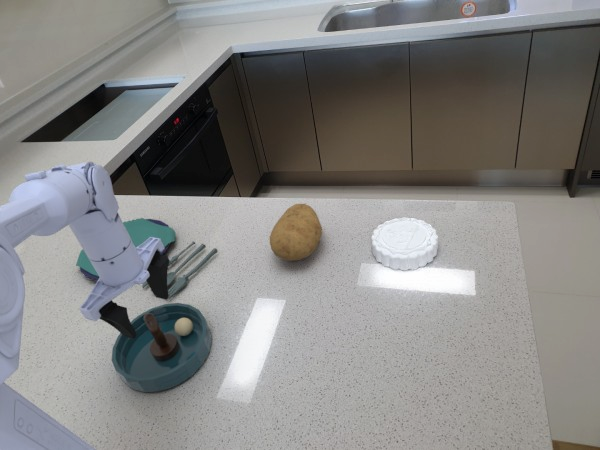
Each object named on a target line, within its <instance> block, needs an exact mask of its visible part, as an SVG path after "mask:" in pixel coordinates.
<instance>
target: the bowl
mask: <svg viewBox="0 0 600 450" xmlns="http://www.w3.org/2000/svg"><path fill="white" fill-rule="evenodd" d="M146 313H152V314H153V315H154V316H155V318H156V320H157V322H158V324H159V326H160V328H161V330H162V332H163V334H172V335H174V336H175V337H176V339H177V341H178V343H179V351H178V352H177V354H176V355H175V356H174V357H173V358H171V359H169V360H167V361H157V360H155V359H154V357H153V355H152V354H151V352H150V346H151V344H152V342H153V341H154V338H153V336H152V334H151V332H150V330H149V329H148V327H147V325H146V323H145V321H144V315H145V314H146ZM180 318H188V319H190V320H191V321H192V323H193V329H192V331H191V333H190V334H189V335H186V336H180V335H178V334H177V333H176V331H175V328H174V327H175V323H176V322H177V320H179V319H180ZM130 323H131V324H132V326H133V328H134V329H135V331H136V334H137V336H136V337H135V338H134V339H131V338H128V337H125V336H123V335H122V334H121V333H120V332H119V334H118V336H117V337H116V339H115V342H114V343H113V346H112V351H111V362H112V365H113V368H114V370H115V371H116V373H117V375H118V376H119V378H120V379H121V380H122V382H123V383H125V385H127V386H128V387H129V388H130V389H132V390H135V391H139V392H141V393H142V392H144V393H153V392H162V391H165V390H168V389H172V388H174V387H176V386H178V385H180V384H182V383H184V382H185V381H186V380H189V378H190V377H192V376H193V375H194V374H195V373H196V372H197V371H198V370H199V369H200V368H201V367H202V366H203V364H204V362H205V361H206V359H207V358H208V355H209V354H210V350H211V346H212V340H213V339H212V333H211V329H210V326H209V324H208V322H207V319H206V318H205V316H204V315H203V313H202V312H201V310H200V309H199V308H197V307H195V306H193V305H191V304H188V303H182V302H173V303H164V304H161V305H158V306H154V307H152V308H150V309H148V310H146V311H144V312H143V313H140V314H139V315H137V316H136V317H134V319H133V320H130Z"/></svg>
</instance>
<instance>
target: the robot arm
mask: <svg viewBox="0 0 600 450" xmlns="http://www.w3.org/2000/svg"><path fill="white" fill-rule="evenodd" d="M24 178H25V181H24V182H22V183H20V184H19V185H16V187H15V188H14V189H13V190H12V192H11V193H10V195H9V198H8V202H7V203H5V204H3V205H0V450H97V449H96V448H95V447H94V446H92V445H90V443H88V442H87V441H85V440H83V439H82V438H81V437H80V436H78V435H76V433H74V432H73V431H71V429H69V428H68V427H66V426H65V425H63V424H62V423H61V422H59V421H58V420H56V419H55V418H53V417H52V416H51V415H50V414H48V413H47V412H46V411H44V410H43V409H41V408H40V407H39V406H37V405H36V404H34V403H33V402H32V401H30V400H29V399H27V398H26V397H25V396H23V395H22V394H21V393H19V392H18V391H17V390H15V389H14V388H12V387H11V386H10V385H8V384H7V383H5V381H7V379H9V378H10V377H11V376H12V375H13V374H14V373H15V372H16V371H18V369H19V366H20V355H21V353H20V352H21V345H22V342H21V341H22V329H23V317H24V307H25V306H24V304H25V298H26V285H25V279H24V275H25V273H26V271H25V267H24V265H23V262H22V260H21V258H20V256H19V254H18V253H17V251H16V249H15V248H17V246H19V245H20V244H22V243H24V242H25V241H26V240H27V239H29V238H30V237H31V236H35V237H49V236H52V235H55V234H57V233H59V232H60V231H61V230H63V229H65V228H66V227H67V226H68V227H69V229H70V230H71V231H72V233H73V235H74V236H75V238H76V240H77V242H78V243H79V245H80V247H81V249H82V250H84V252H85V253H86V255H87V257H88V258H89V260H90V262H91V263H92V265H93V267H94V268H95V270H96V272H97V274H98V275H99V279H98V280H96V283H95V284H94V286H93V288H92V290H91V291H90V293H89V295H88V297H87V298H86V299H85V300H84V302H83V304H81V306H80V307H79V308H78V309H79V311H80V312H81V314H82V315H83V317H84V319H86V320H89V321H93V322H98V320H101V321H103V322H105V323H107V324H108V325H110V326H112V327H113V328H114V329H115V330H117V331H118V332H119V334H120V333H121V334H122V335H123V336H125V337H128V338H131V339H134V338H135V337H136V336H137V334H136V331H135V329H134V328H133V326H132V324H131V323H130V322H131V320H130V318H129V314H128V307H126V306H122V305H118V303H117V302H114V301H113V300H115V299H116V298H117V297H118V296H120V295H122V294H123V293H125V292H126V291H127V290H129V289H130V288H132V287H133V286H134V285H143V283H144V282H145V281H147V283H148V285H147V286H149V289H150V291H151V290H152V291H151V292H152V294H153V295H154V297H156V298H157V299H162V300H165V301H166V300H169V299H168V297H169V296H170V295H168V294H169V293H168V290H169V289H168V287H169V286H167V273H169V272H168V270H169V267H170V266H169V263H170V261H169V260H170V258H169V256H168V255H167V254H163V255H162V254H160V252H162V251H163V250H164V249H165V248H164V246H163V243H162V241H161V239H159V238H154V237H150V238H148V239H147V240H146V241H145V242H144V243H142V244H141V245H139V246H138V247H136V248H135V246H134V244H133V242H132V240H131V238H130V236H129V234H128V232H127V230H126V228H125V226H124V224H123V222H124V221H123V220H122V218H121V216H120V214H119V212H118V211H119V209H120V207H119V202H118V200H117V198H116V196H115V192H114V188H113V184H112V183H113V182H112V179H111V177H110V174H109V171H108V170H106V169H105V167H104V166H102V165H101V164H97V163H94V162H93V161H85V162H82V163H81V162H80V163H76V164H71V165H66V164H59V165H55V166H52V167H51V168H50V169H49V170H45V169H42V170H39V171H34V172H31V173H27V174H25V175H24ZM168 266H169V267H168Z"/></svg>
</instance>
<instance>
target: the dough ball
mask: <svg viewBox="0 0 600 450" xmlns="http://www.w3.org/2000/svg"><path fill="white" fill-rule="evenodd" d="M174 328H175V331H176V333H177V334H178V335H180V336H186V335H189V334H190V333H191V331H192V329H193V323H192V321H191V320H190V319H188V318H180V319H179V320H177V322H176V323H175V327H174Z"/></svg>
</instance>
